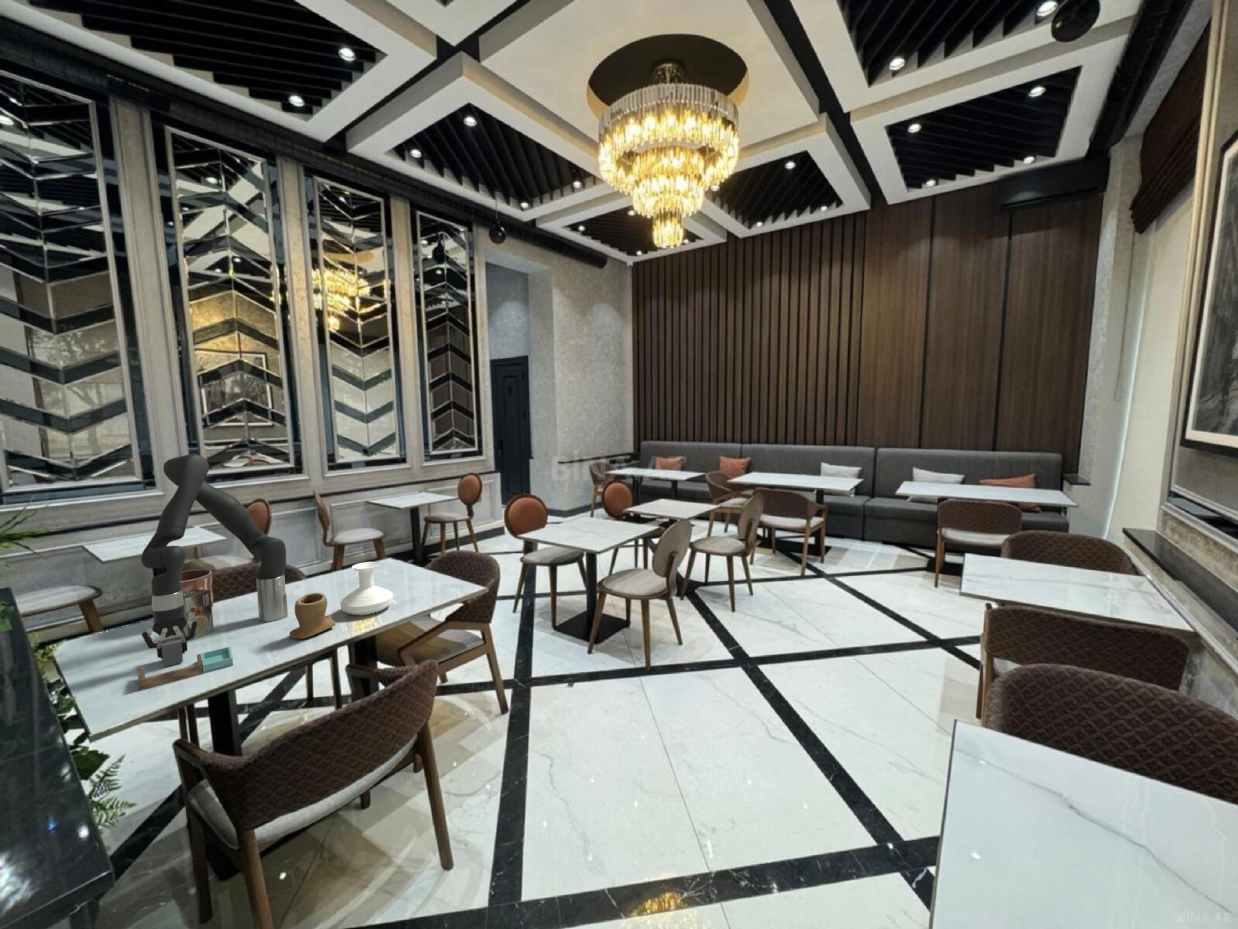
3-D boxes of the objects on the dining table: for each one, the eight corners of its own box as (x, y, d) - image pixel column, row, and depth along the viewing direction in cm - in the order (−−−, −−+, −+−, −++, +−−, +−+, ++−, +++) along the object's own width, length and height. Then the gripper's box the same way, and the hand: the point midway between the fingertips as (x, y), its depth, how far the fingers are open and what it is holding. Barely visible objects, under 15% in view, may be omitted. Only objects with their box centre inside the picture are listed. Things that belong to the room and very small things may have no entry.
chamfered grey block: (182, 653, 164) (180, 633, 163) (182, 662, 158) (180, 641, 157) (164, 657, 161) (162, 637, 160) (163, 666, 155) (161, 646, 154)
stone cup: (304, 644, 172) (301, 603, 171) (285, 637, 177) (282, 598, 176) (344, 628, 185) (342, 590, 184) (325, 622, 191) (323, 585, 189)
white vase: (354, 623, 190) (351, 576, 188) (332, 611, 202) (329, 566, 200) (402, 608, 205) (401, 564, 204) (379, 597, 217) (377, 556, 216)
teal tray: (230, 653, 165) (230, 646, 165) (233, 665, 157) (232, 658, 157) (202, 660, 160) (201, 653, 160) (203, 673, 152) (202, 665, 152)
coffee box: (200, 629, 185) (197, 588, 183) (214, 630, 183) (211, 589, 182) (174, 639, 176) (170, 597, 174) (188, 641, 174) (184, 598, 173)
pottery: (148, 623, 190) (144, 579, 189) (202, 607, 206) (199, 566, 204) (170, 631, 183) (167, 585, 181) (224, 615, 199) (221, 572, 197)
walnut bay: (201, 662, 159) (201, 653, 159) (202, 673, 152) (201, 664, 151) (140, 677, 149) (139, 668, 149) (138, 690, 142) (137, 681, 142)
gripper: (196, 597, 165) (201, 644, 167) (138, 608, 156) (143, 658, 157) (197, 603, 160) (201, 652, 161) (136, 615, 150) (142, 667, 152)
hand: (172, 655), depth 159 cm, fingers closed on chamfered grey block, 4 cm apart
